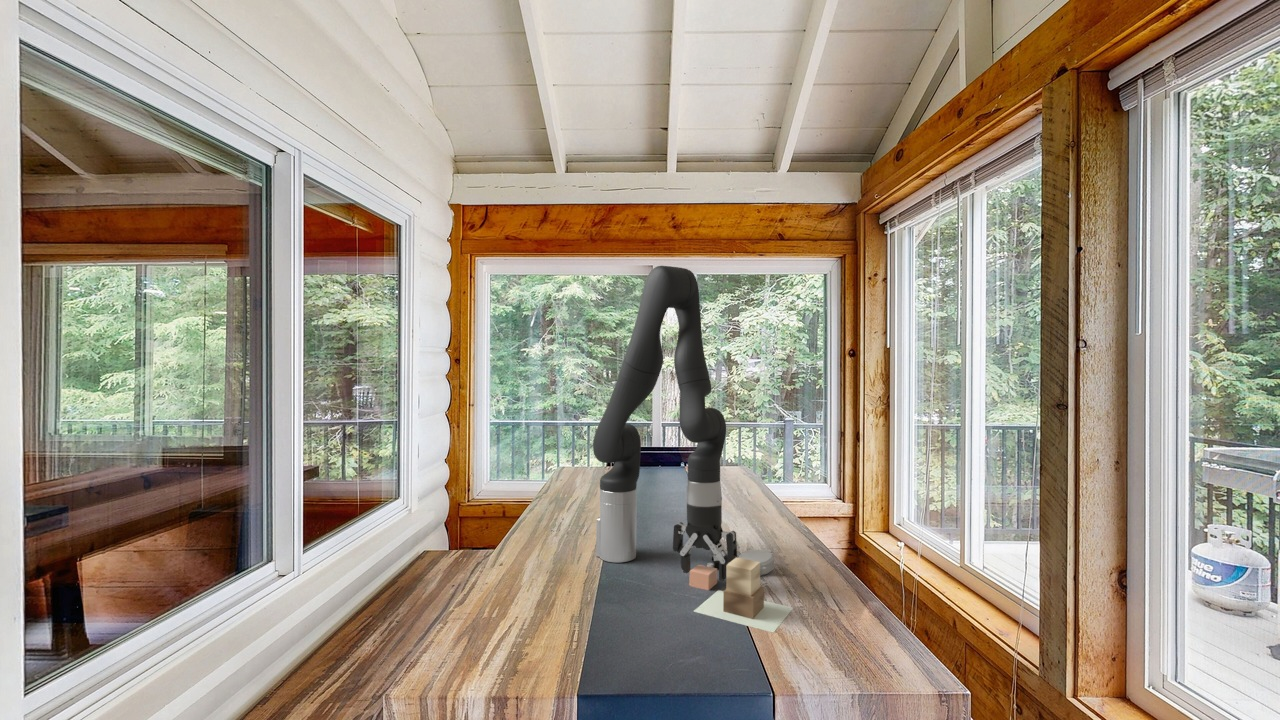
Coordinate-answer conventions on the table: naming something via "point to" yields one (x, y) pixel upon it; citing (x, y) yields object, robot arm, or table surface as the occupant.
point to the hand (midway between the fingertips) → (704, 575)
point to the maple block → (743, 576)
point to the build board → (763, 620)
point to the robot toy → (755, 555)
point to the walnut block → (744, 603)
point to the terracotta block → (703, 577)
